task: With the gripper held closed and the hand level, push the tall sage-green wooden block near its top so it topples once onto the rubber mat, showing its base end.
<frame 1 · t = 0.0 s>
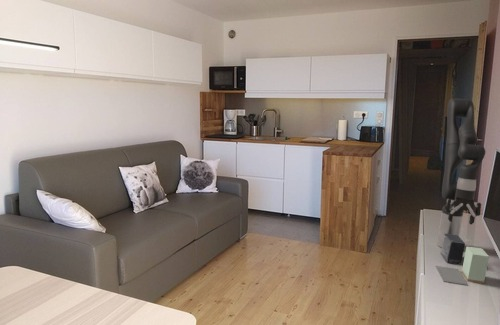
hand: (460, 222, 176), 17 cm above the tv stand, tool pointing down, fingers open, 8 cm apart
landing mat: (451, 275, 161), on the tv stand
small box: (450, 259, 177), on the tv stand
sage block: (472, 278, 160), on the tv stand
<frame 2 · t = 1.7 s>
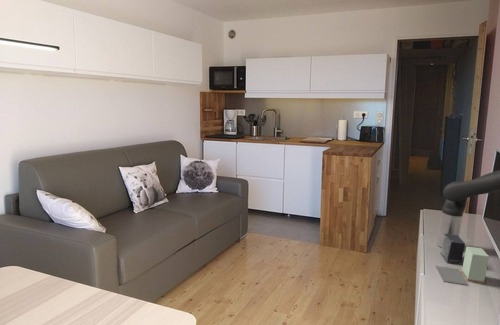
nothing on the tv stand moved.
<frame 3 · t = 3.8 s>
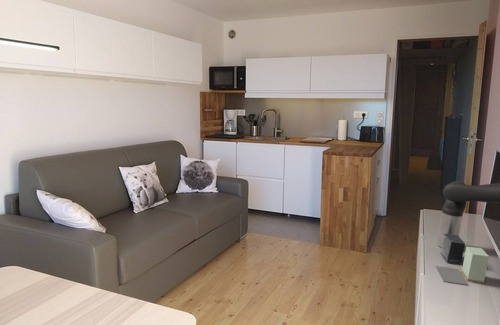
nothing on the tv stand moved.
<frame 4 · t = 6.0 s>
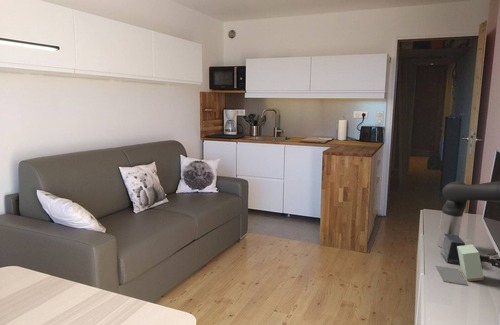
hand: (477, 257, 158), 9 cm above the tv stand, tool horizontal, fingers closed
sage block: (472, 275, 160), point 1 cm above the tv stand, tilted 18°, touching gripper
everything else where it was.
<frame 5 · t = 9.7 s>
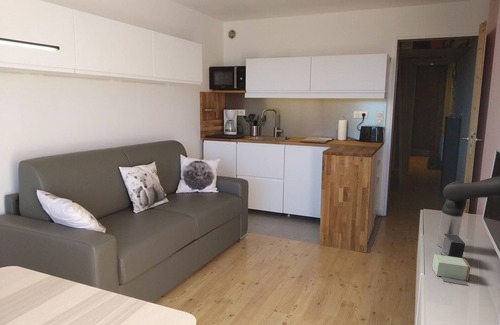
sage block: (466, 269, 160), point 3 cm above the tv stand, tilted 90°, touching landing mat
everything else where it was.
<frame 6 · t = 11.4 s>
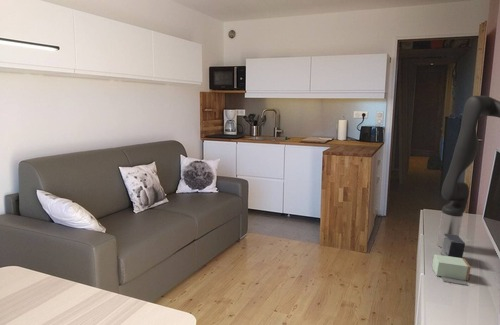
nothing on the tv stand moved.
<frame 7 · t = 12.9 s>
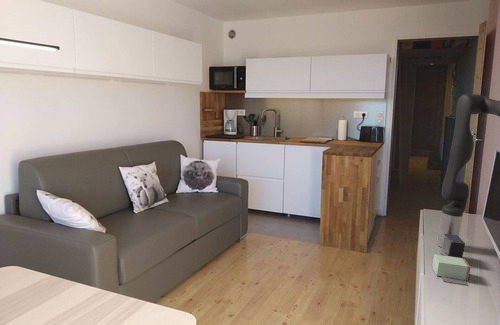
nothing on the tv stand moved.
at the end: sage block tilted 90°; sage block touching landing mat; sage block inside the target area (1.7 cm from its centre), point 3.4 cm above the tv stand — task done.
